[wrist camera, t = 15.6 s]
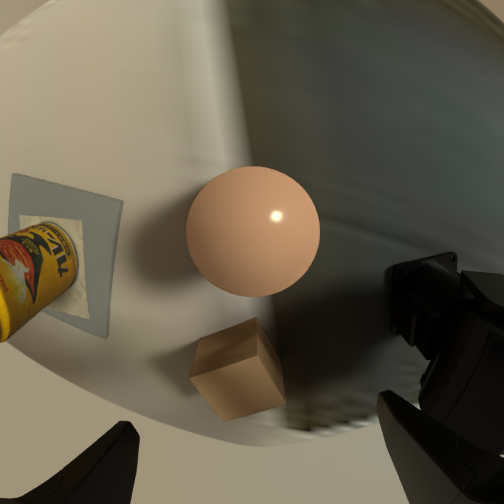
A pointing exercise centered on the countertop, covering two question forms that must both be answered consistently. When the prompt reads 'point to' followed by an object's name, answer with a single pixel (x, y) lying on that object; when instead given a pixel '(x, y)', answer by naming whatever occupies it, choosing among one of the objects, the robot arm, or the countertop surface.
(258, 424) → the countertop surface
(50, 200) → the slate mat
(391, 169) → the countertop surface
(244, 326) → the walnut block
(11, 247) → the condiment
